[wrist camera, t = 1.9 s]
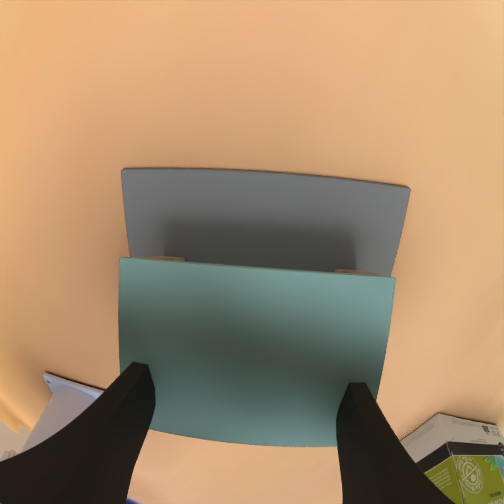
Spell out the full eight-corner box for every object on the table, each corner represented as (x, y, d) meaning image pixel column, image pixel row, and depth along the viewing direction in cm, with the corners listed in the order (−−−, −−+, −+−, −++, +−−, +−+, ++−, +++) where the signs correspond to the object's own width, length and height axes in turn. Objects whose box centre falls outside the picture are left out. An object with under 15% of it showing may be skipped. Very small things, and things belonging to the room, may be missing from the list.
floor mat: (343, 399, 21) (344, 403, 20) (159, 384, 21) (158, 388, 21) (407, 186, 14) (410, 189, 13) (124, 168, 14) (120, 170, 14)
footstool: (340, 396, 15) (364, 444, 10) (160, 381, 16) (124, 422, 11) (357, 270, 15) (395, 277, 10) (163, 256, 16) (119, 257, 11)
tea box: (499, 421, 24) (531, 513, 11) (443, 462, 28) (461, 549, 15) (437, 409, 22) (474, 546, 8) (368, 458, 26) (379, 576, 13)
